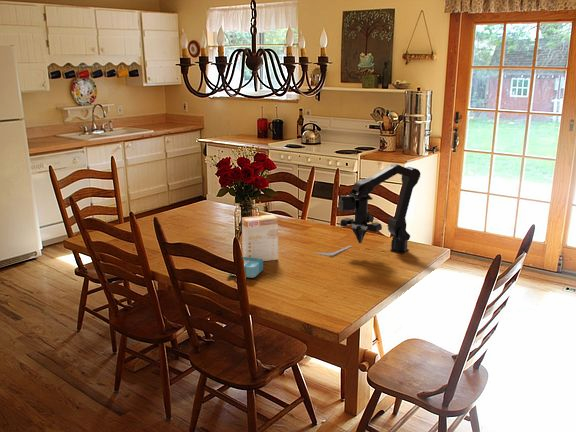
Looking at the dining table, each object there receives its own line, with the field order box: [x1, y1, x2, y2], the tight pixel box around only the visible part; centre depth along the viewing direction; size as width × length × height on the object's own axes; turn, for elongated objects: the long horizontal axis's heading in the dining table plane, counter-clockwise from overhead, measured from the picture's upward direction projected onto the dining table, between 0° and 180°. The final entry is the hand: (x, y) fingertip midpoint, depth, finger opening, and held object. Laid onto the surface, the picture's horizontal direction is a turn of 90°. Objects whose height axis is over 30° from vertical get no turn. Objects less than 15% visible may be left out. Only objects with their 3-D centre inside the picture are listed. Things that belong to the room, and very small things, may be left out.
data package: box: [228, 256, 264, 279], centre depth 223 cm, size 12×4×12 cm
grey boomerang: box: [313, 245, 353, 258], centre depth 254 cm, size 14×18×1 cm
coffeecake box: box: [241, 214, 279, 262], centre depth 238 cm, size 15×7×20 cm, turn 111°
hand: (360, 243), depth 243 cm, fingers closed
